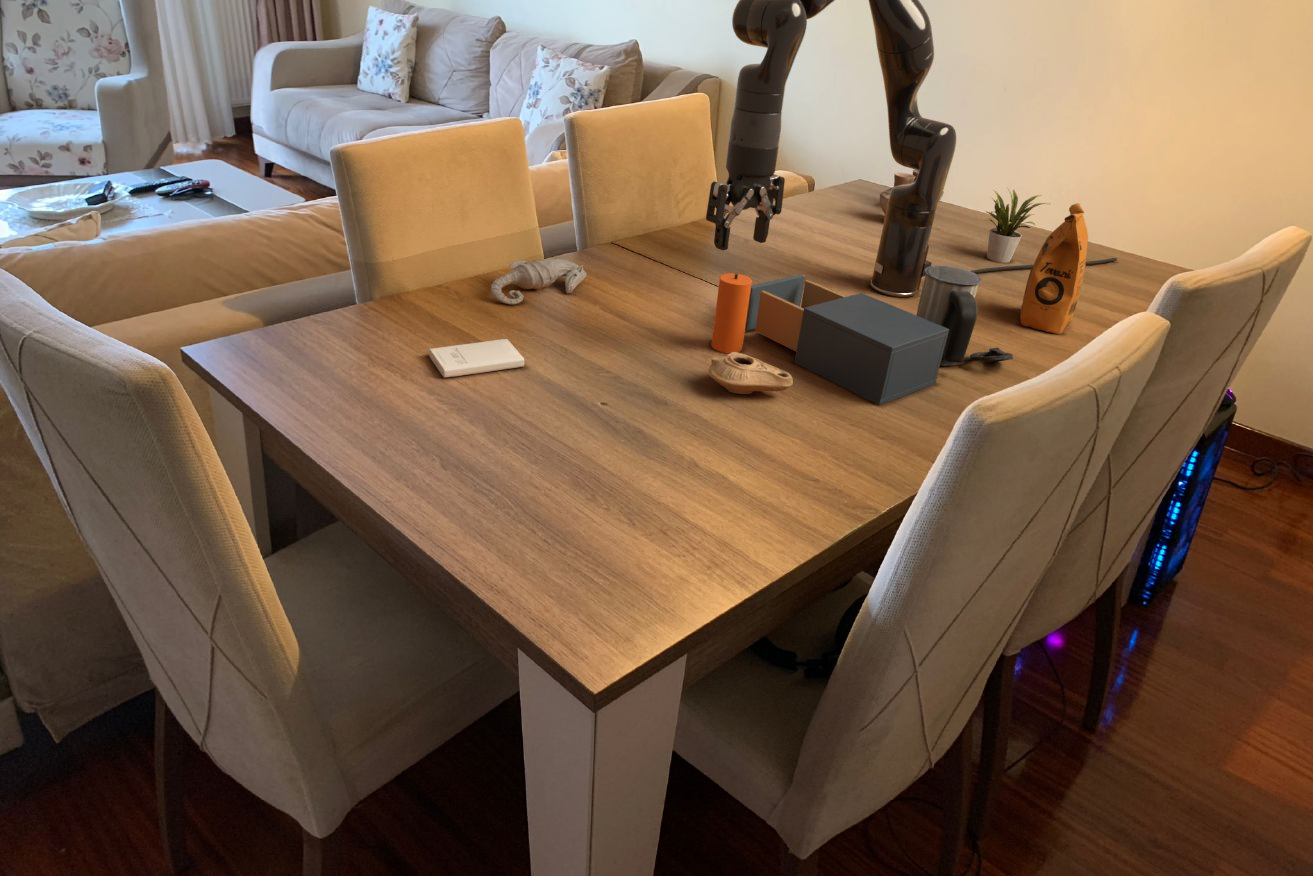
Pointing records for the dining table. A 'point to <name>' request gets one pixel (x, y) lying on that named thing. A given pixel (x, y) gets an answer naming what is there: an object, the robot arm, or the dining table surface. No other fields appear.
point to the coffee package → (1057, 276)
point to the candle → (731, 312)
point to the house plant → (1007, 228)
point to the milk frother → (954, 312)
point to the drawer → (784, 307)
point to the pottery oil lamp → (747, 374)
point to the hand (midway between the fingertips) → (740, 245)
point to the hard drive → (476, 358)
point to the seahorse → (537, 277)
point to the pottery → (898, 180)
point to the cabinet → (870, 347)
